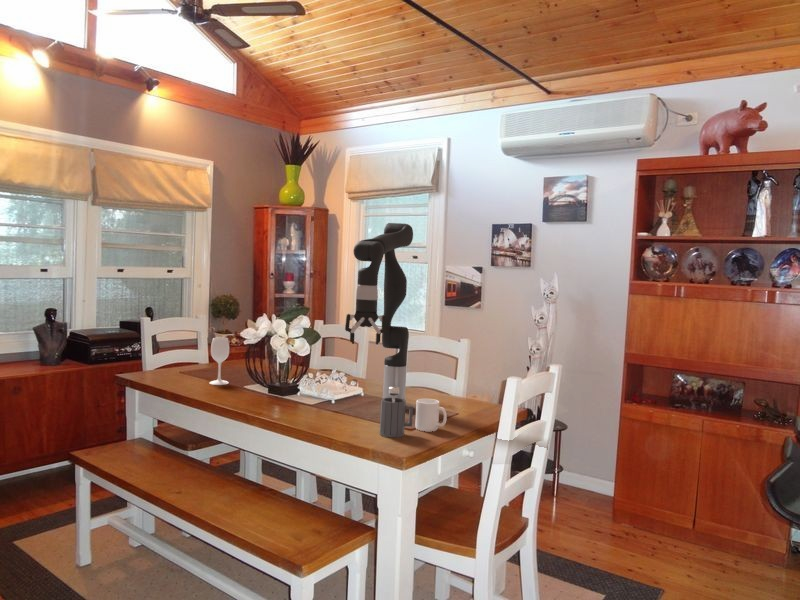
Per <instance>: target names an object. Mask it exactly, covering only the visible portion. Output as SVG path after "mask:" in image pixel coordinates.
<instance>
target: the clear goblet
mask: <svg viewBox="0 0 800 600" xmlns="http://www.w3.org/2000/svg"><path fill="white" fill-rule="evenodd" d="M389 395H392V402H395V396H396V395H399V387H396V386H391V387H389Z"/></svg>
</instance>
